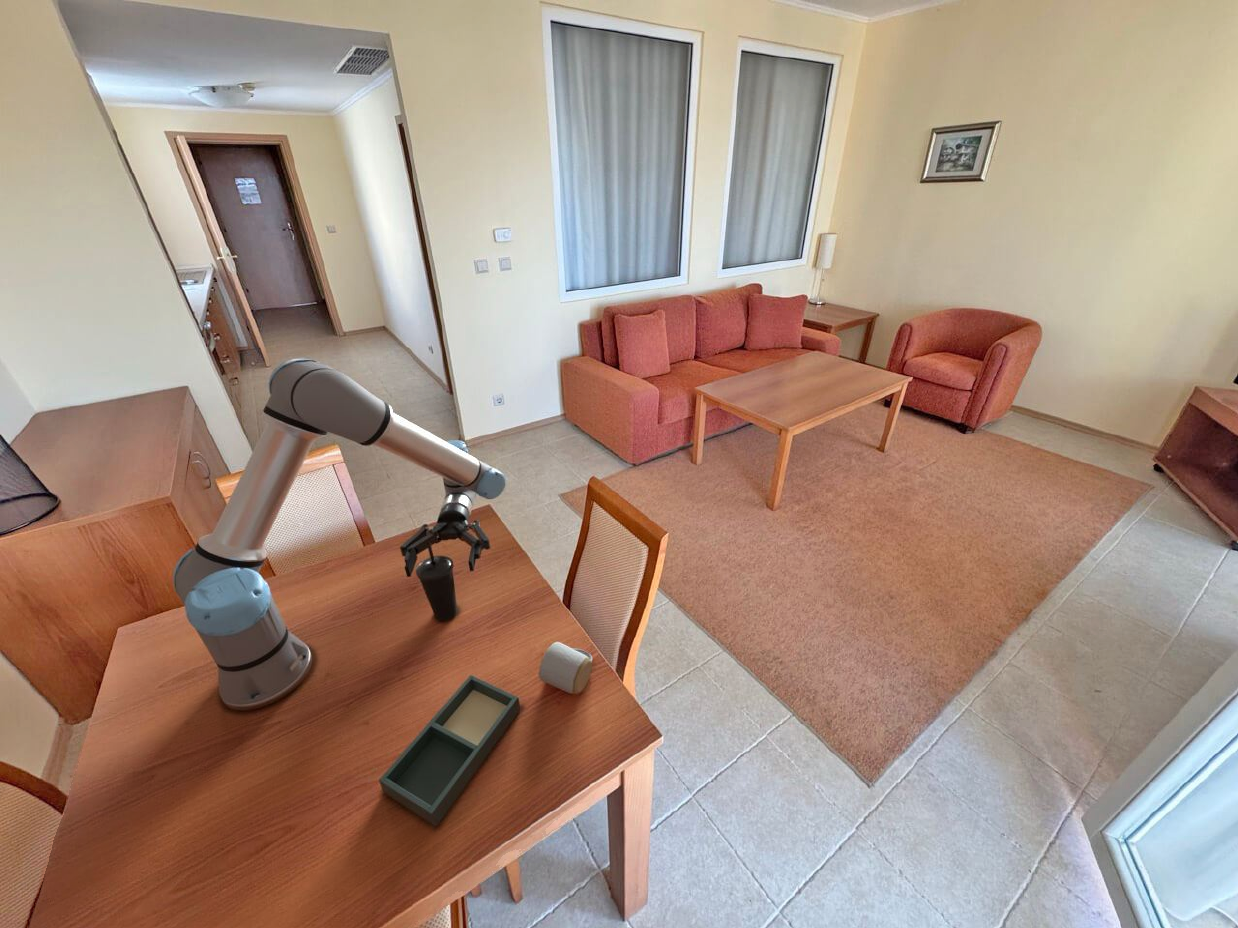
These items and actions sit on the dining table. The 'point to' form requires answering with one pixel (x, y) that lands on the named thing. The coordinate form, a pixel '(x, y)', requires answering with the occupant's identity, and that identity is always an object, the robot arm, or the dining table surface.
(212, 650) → the robot arm
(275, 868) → the dining table surface
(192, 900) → the dining table surface
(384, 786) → the divided tray
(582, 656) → the ceramic mug
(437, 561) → the drinking cup
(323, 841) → the dining table surface
